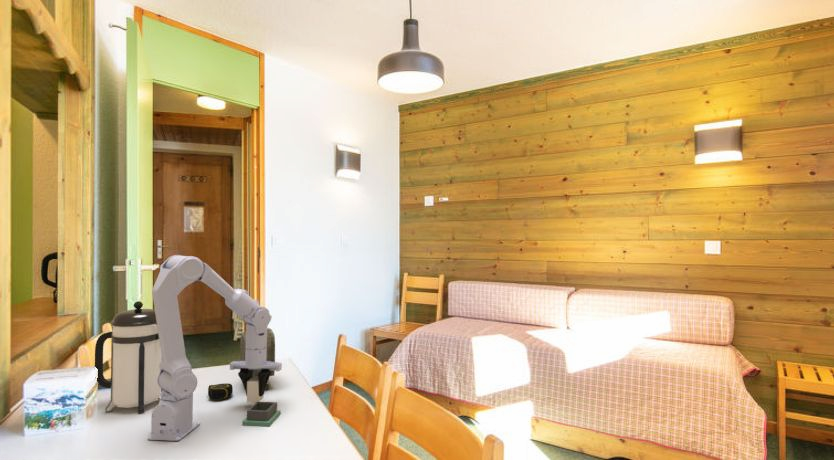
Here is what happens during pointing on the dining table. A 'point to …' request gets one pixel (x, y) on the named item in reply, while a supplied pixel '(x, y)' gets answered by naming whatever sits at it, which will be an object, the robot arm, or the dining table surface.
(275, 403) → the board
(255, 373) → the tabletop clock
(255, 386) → the plug
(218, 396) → the tape measure
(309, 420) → the dining table surface
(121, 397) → the coffee press
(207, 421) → the dining table surface
